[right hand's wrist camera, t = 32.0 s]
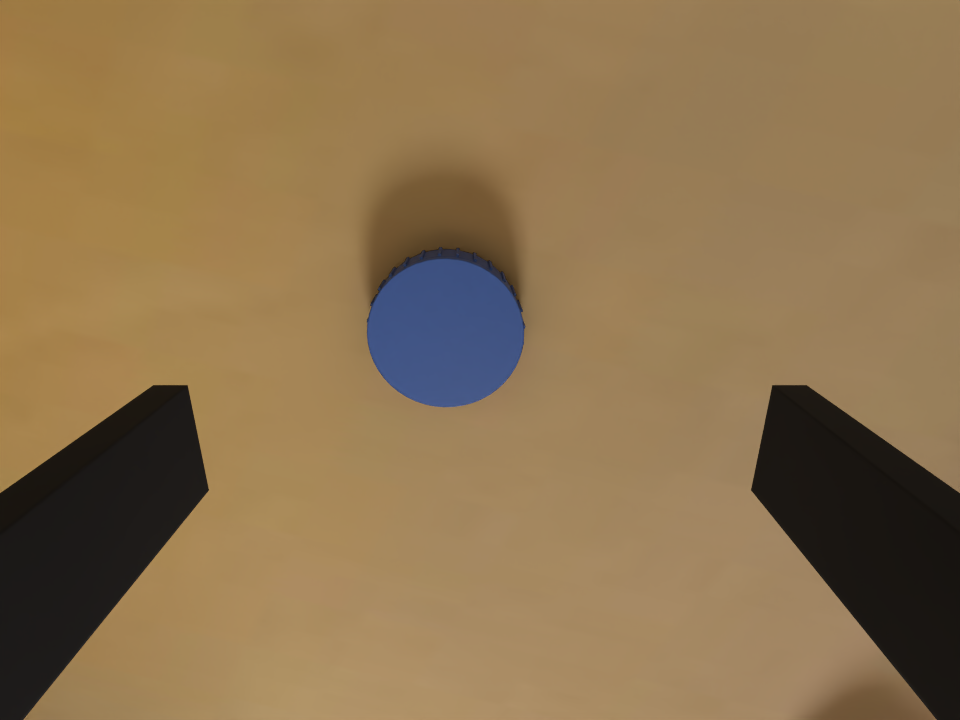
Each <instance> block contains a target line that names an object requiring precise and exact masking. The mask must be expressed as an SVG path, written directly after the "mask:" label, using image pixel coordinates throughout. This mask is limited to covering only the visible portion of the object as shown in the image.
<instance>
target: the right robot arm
mask: <svg viewBox="0 0 960 720" xmlns="http://www.w3.org/2000/svg"><path fill="white" fill-rule="evenodd" d="M208 491H209V489H208V484H207V479H206V474H205V469H204V464H203V459H202V454H201V449H200V444H199V439H198V435H197V430H196V425H195V420H194V415H193V410H192V405H191V400H190V395H189V390H188V385H153V386H152V387H150V388H149V389H147V390H146V391H145V392H143V393H142V394H140V395H139V396H138V397H136V398H135V399H133V400H132V401H130V402H129V403H128V404H126V405H125V406H123V407H122V408H121V409H119V410H118V411H116V412H115V413H113V414H112V415H111V416H109V417H108V418H106V419H105V420H104V421H102V422H101V423H99V424H98V425H96V426H95V427H94V428H92V429H91V430H89V431H88V432H86V433H85V434H84V435H82V436H81V437H79V438H78V439H77V440H75V441H74V442H72V443H71V444H69V445H68V446H67V447H65V448H64V449H62V450H61V451H60V452H58V453H57V454H55V455H54V456H52V457H51V458H50V459H48V460H47V461H45V462H44V463H43V464H41V465H40V466H38V467H37V468H35V469H34V470H33V471H31V472H30V473H28V474H27V475H26V476H24V477H23V478H21V479H20V480H18V481H17V482H16V483H14V484H13V485H11V486H10V487H8V488H7V489H6V490H4V491H3V492H1V493H0V720H23V719H24V718H25V717H26V716H27V714H28V713H29V712H30V711H31V709H32V708H33V707H34V706H35V704H36V703H37V702H38V701H39V699H40V698H41V697H42V696H43V695H44V693H45V692H46V691H47V690H48V688H49V687H50V686H51V685H52V683H53V682H54V681H55V680H56V678H57V677H58V676H59V675H60V673H61V672H62V671H63V670H64V669H65V667H66V666H67V665H68V664H69V662H70V661H71V660H72V659H73V657H74V656H75V655H76V654H77V652H78V651H79V650H80V649H81V648H82V646H83V645H84V644H85V643H86V641H87V640H88V639H89V638H90V636H91V635H92V634H93V633H94V631H95V630H96V629H97V628H98V627H99V625H100V624H101V623H102V622H103V620H104V619H105V618H106V617H107V615H108V614H109V613H110V612H111V610H112V609H113V608H114V607H115V606H116V604H117V603H118V602H119V601H120V599H121V598H122V597H123V596H124V594H125V593H126V592H127V591H128V589H129V588H130V587H131V586H132V585H133V583H134V582H135V581H136V580H137V578H138V577H139V576H140V575H141V573H142V572H143V571H144V570H145V568H146V567H147V566H148V565H149V564H150V562H151V561H152V560H153V559H154V557H155V556H156V555H157V554H158V552H159V551H160V550H161V549H162V547H163V546H164V545H165V544H166V542H167V541H168V540H169V539H170V538H171V536H172V535H173V534H174V533H175V531H176V530H177V529H178V528H179V526H180V525H181V524H182V523H183V521H184V520H185V519H186V518H187V517H188V515H189V514H190V513H191V512H192V510H193V509H194V508H195V507H196V505H197V504H198V503H199V502H200V500H201V499H202V498H203V497H204V496H205V494H206V493H207V492H208ZM751 491H752V492H753V493H754V494H755V496H756V497H757V498H758V499H759V500H760V502H761V503H762V504H763V505H764V507H765V508H766V509H767V510H768V512H769V513H770V514H771V515H772V517H773V518H774V519H775V520H776V521H777V523H778V524H779V525H780V526H781V528H782V529H783V530H784V531H785V533H786V534H787V535H788V536H789V538H790V539H791V540H792V541H793V542H794V544H795V545H796V546H797V547H798V549H799V550H800V551H801V552H802V554H803V555H804V556H805V557H806V559H807V560H808V561H809V562H810V564H811V565H812V566H813V567H814V568H815V570H816V571H817V572H818V573H819V575H820V576H821V577H822V578H823V580H824V581H825V582H826V583H827V585H828V586H829V587H830V588H831V589H832V591H833V592H834V593H835V594H836V596H837V597H838V598H839V599H840V601H841V602H842V603H843V604H844V606H845V607H846V608H847V609H848V610H849V612H850V613H851V614H852V615H853V617H854V618H855V619H856V620H857V622H858V623H859V624H860V625H861V627H862V628H863V629H864V630H865V631H866V633H867V634H868V635H869V636H870V638H871V639H872V640H873V641H874V643H875V644H876V645H877V646H878V648H879V649H880V650H881V651H882V652H883V654H884V655H885V656H886V657H887V659H888V660H889V661H890V662H891V664H892V665H893V666H894V667H895V669H896V670H897V671H898V672H899V673H900V675H901V676H902V677H903V678H904V680H905V681H906V682H907V683H908V685H909V686H910V687H911V688H912V690H913V691H914V692H915V693H916V695H917V696H918V697H919V698H920V699H921V701H922V702H923V703H924V704H925V706H926V707H927V708H928V709H929V711H930V712H931V713H932V714H933V716H934V717H935V718H936V719H937V720H960V493H959V492H957V491H956V490H954V489H953V488H952V487H950V486H949V485H947V484H946V483H944V482H943V481H942V480H940V479H939V478H937V477H936V476H934V475H933V474H932V473H930V472H929V471H927V470H926V469H925V468H923V467H922V466H920V465H919V464H917V463H916V462H915V461H913V460H912V459H910V458H909V457H908V456H906V455H905V454H903V453H902V452H900V451H899V450H898V449H896V448H895V447H893V446H892V445H891V444H889V443H888V442H886V441H885V440H883V439H882V438H881V437H879V436H878V435H876V434H875V433H874V432H872V431H871V430H869V429H868V428H866V427H865V426H864V425H862V424H861V423H859V422H858V421H856V420H855V419H854V418H852V417H851V416H849V415H848V414H847V413H845V412H844V411H842V410H841V409H839V408H838V407H837V406H835V405H834V404H832V403H831V402H830V401H828V400H827V399H825V398H824V397H822V396H821V395H820V394H818V393H817V392H815V391H814V390H813V389H811V388H810V387H808V386H807V385H772V390H771V395H770V400H769V405H768V410H767V415H766V420H765V425H764V430H763V435H762V439H761V444H760V449H759V454H758V459H757V464H756V469H755V474H754V479H753V484H752V489H751Z"/></svg>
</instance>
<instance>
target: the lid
mask: <svg viewBox="0 0 960 720" xmlns="http://www.w3.org/2000/svg"><path fill="white" fill-rule="evenodd" d="M378 291H379V293H378V295H377V294H376V296H375V297H374V299H373V301H372V302H371V305H370V306H372V307H371V310H370V313H369V317H368V319H367V338H368V345H369V350H370V353H371V356H372V359H373V361H374V363H375V365H376V367H377V369H378V371H379V372H380V373H381V375H382V376H383V377H384V379H385V380H386V381H387V382H388V383H389V384H390V385H391V386H392V387H393V388H395V389H396V390H397V391H398V392H400V393H401V394H403V395H405V396H406V397H408V398H410V399H412V400H414V401H417V402H420V403H423V404H426V405H431V406H438V407H456V406H462V405H467V404H470V403H473V402H476V401H478V400H481V399H483V398H485V397H486V396H488V395H490V394H491V393H493V392H494V391H495V390H497V389H498V388H499V387H500V386H501V385H502V384H503V383H504V382H505V381H506V380H507V379H508V378H509V376H510V375H511V374H512V372H513V370H514V369H515V367H516V365H517V363H518V361H519V358H520V355H521V352H522V348H523V344H524V328H525V324H524V322H523V319H522V315H521V312H523V310H522V307H521V305H520V302H519V300H516V297H515V296H516V293H515V290H514V287H513V285H511V286H510V285H509V283H508V281H507V280H506V278H505V275H504V273H503V272H501V273H500V272H499V271H498V270H497V269H496V268H495V267H494V266H493V265H492V263H491V261H490V260H489V261H488V262H487V261H485V260H484V259H482V258H480V257H478V256H477V255H476V253H474V252H473V254H471V253H468V252H463V251H460V248H457V249H456V250H451V249H443V250H442V247H439V250H433V251H428V252H425V250H423V251H422V252H421V254H419V255H416V256H414V257H412V258H409V257H407V258H406V260H405V262H404V263H402V264H401V265H400V266H399V267H397V268H396V267H394V268H393V269H392V271H391V273H390V274H389V277H388V278H387V280H383V282H382V283H381V285H380V286H379V288H378Z"/></svg>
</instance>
